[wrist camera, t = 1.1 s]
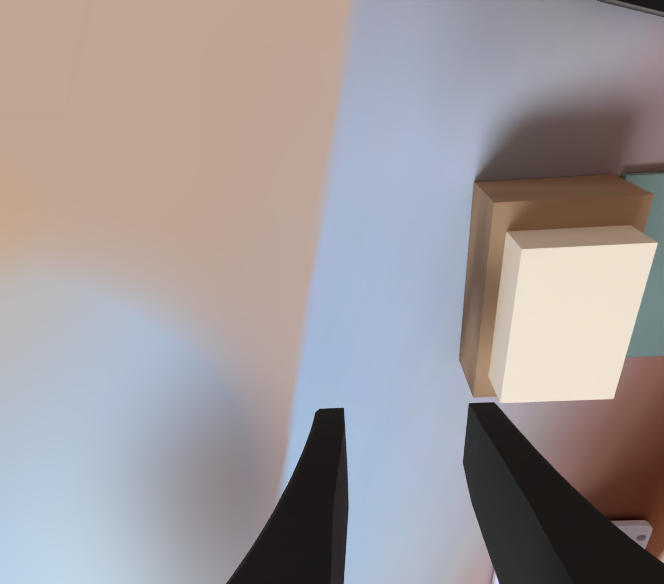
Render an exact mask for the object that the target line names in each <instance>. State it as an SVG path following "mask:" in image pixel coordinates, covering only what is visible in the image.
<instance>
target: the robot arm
mask: <svg viewBox="0 0 664 584" xmlns="http://www.w3.org/2000/svg"><path fill="white" fill-rule="evenodd" d="M463 465H464V470H465V475H466V479H467V484H468V489H469V493H470V497H471V502H472V505H473V508H474V511H475V514H476V517H477V520H478V523H479V526H480V529H481V532H482V535H483V538H484V541H485V544H486V547H487V550H488V553H489V556H490V558H491V561H492V564H493V567H494V573H493V579H492V584H664V563H663V562H661V561H660V560H658V559H657V558H656V557H654V556H653V555H652V554H650V553H649V552H648V551H646V550H645V548H646V546H647V543H648V541H649V538H650V536H651V533H652V530H653V529H652V527H651V525H650V524H649V522H647V521H645V520H623V521H610V520H608V519H607V518H606V517H605V516H604V515H603V514H602V513H600V512H599V511H598V510H597V509H596V508H595V507H594V506H593V505H592V504H591V503H589V502H588V501H587V500H586V499H585V498H584V497H583V496H582V495H581V494H580V493H579V492H578V491H577V490H576V489H575V488H574V487H572V486H571V485H570V484H569V483H568V482H567V481H566V480H565V479H564V478H563V477H562V476H561V475H560V474H559V473H558V472H557V471H556V470H555V469H554V467H553V466H552V465H551V464H550V463H549V462H548V461H547V460H546V459H545V458H544V457H543V456H542V455H541V454H540V453H539V452H538V451H537V450H536V449H535V448H534V447H533V445H532V444H531V443H530V442H529V441H528V440H527V439H526V438H525V437H524V435H523V434H522V433H521V432H520V431H519V430H518V429H517V428H516V426H515V425H514V424H513V423H512V422H511V421H510V420H509V418H508V417H507V416H506V415H505V414H504V413H503V411H502V410H501V409H500V408H499V407H498V406H497V405H496V404H495V403H494V402H489V403H469V408H468V418H467V428H466V437H465V447H464V457H463ZM348 507H349V506H348V473H347V453H346V437H345V420H344V408H329V409H319V410H318V411H317V412H315V416H314V421H313V424H312V428H311V431H310V434H309V436H308V439H307V442H306V444H305V447H304V450H303V452H302V454H301V457H300V459H299V461H298V463H297V466H296V468H295V470H294V472H293V475H292V477H291V479H290V481H289V483H288V485H287V487H286V489H285V491H284V492H283V494H282V496H281V498H280V500H279V502H278V504H277V506H276V508H275V510H274V511H273V513H272V515H271V517H270V519H269V520H268V522H267V523H266V525H265V527H264V528H263V530H262V532H261V533H260V535H259V537H258V538H257V540H256V541H255V543H254V545H253V546H252V548H251V549H250V551H249V552H248V553H247V555H246V556H245V558H244V559H243V561H242V562H241V564H240V565H239V567H238V568H237V569H236V571H235V572H234V574H233V575H232V576H231V578H230V579H229V581H228V582H227V583H226V584H344V570H345V554H346V539H347V523H348Z"/></svg>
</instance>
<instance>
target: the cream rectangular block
mask: <svg viewBox="0 0 664 584" xmlns="http://www.w3.org/2000/svg"><path fill="white" fill-rule="evenodd" d="M657 244H658V242H656V241H655V240H653V239H651V238H650V237H648V236H647V235H645V234H644V233H642V232H640V231H639V230H637V229H636V228H634V227H633V226H631V225H624V226H604V227H584V228H564V229H544V230H524V231H506V237H505V245H504V253H503V262H502V270H501V278H500V286H499V295H498V303H497V311H496V319H495V327H494V336H493V344H492V352H491V360H490V368H489V379H490V381H491V384H492V386H493V388H494V390H495V393H496V395H497V397H498V399H499V402H500V403H517V402H543V401H570V400H597V399H614V395H615V392H616V388H617V385H618V381H619V378H620V374H621V371H622V367H623V364H624V360H625V357H626V353H627V350H628V346H629V343H630V339H631V336H632V332H633V328H634V325H635V321H636V318H637V314H638V311H639V307H640V304H641V300H642V297H643V293H644V290H645V286H646V283H647V279H648V276H649V272H650V269H651V265H652V262H653V258H654V255H655V251H656V248H657Z"/></svg>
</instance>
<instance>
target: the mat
mask: <svg viewBox="0 0 664 584" xmlns="http://www.w3.org/2000/svg"><path fill="white" fill-rule="evenodd" d="M621 178H622V179H624V180H626V181H628V182H630V183H632V184H634V185H636V186H638V187H640V188H642V189H645V190H647V191H649V192H651V193H653V194H654V197H653V201H652V205H651V208H650V212H649V216H648V220H647V223H646V227H645V231H644V234H645V235H647V236H648V237H650V238H651V239H653V240H655V241H656V242H658V244H657V248H656V251H655V255H654V258H653V262H652V265H651V269H650V272H649V276H648V279H647V283H646V286H645V290H644V293H643V297H642V300H641V304H640V307H639V311H638V314H637V318H636V321H635V325H634V328H633V332H632V336H631V339H630V343H629V346H628V350H627V353H626V357H647V356H664V172H646V173H628V174H622V176H621Z"/></svg>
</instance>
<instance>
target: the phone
mask: <svg viewBox="0 0 664 584" xmlns="http://www.w3.org/2000/svg"><path fill="white" fill-rule="evenodd" d="M598 1H600V2H604V3H608V4H612V5H617V6H621V7H625V8H629V9H633V10H637V11H641V12H645V13H649V14H653V15H657V16H661V17H664V0H598Z"/></svg>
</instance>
